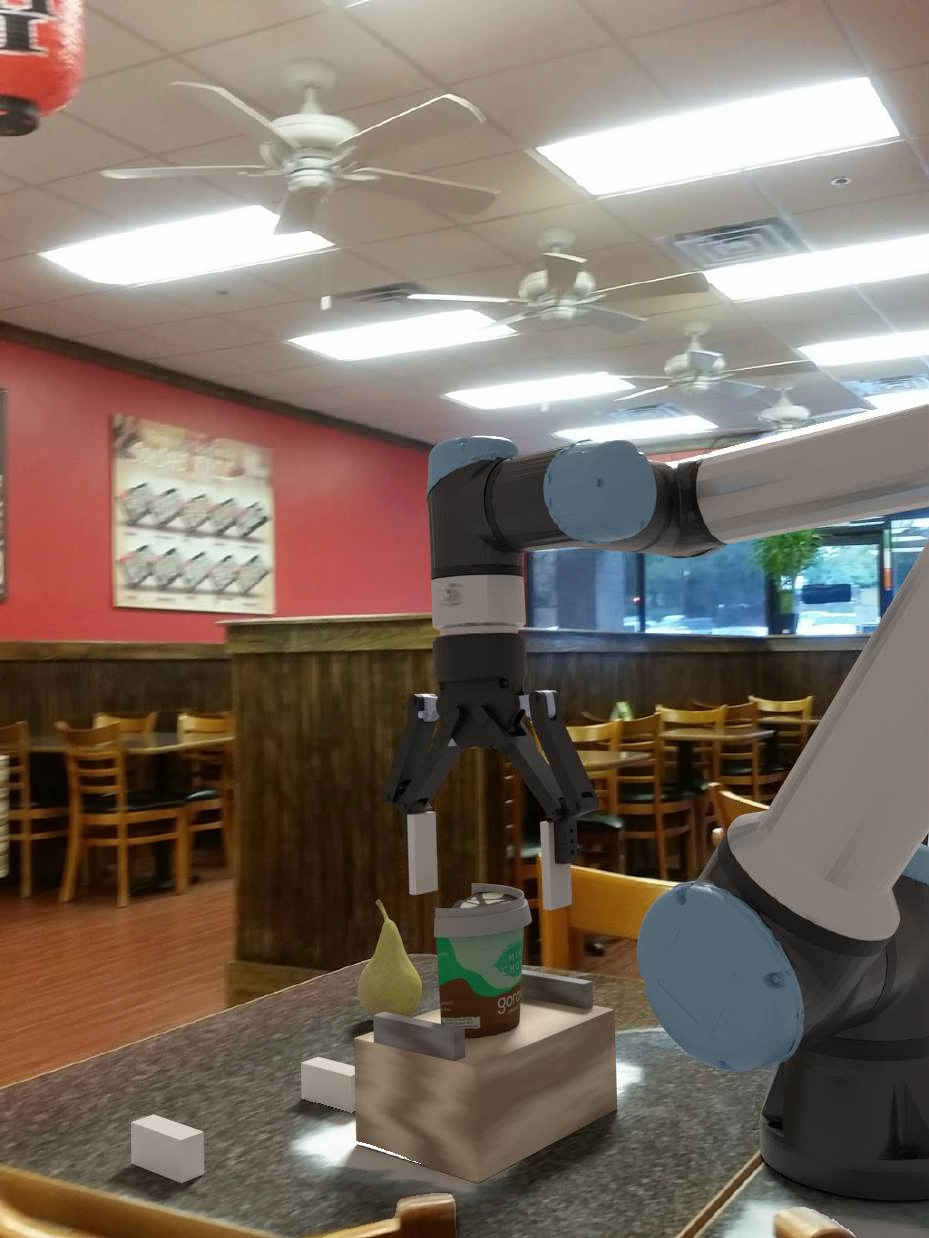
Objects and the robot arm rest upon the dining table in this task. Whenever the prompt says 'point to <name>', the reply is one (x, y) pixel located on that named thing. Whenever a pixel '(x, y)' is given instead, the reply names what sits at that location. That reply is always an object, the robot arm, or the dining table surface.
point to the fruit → (389, 976)
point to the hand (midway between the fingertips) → (487, 899)
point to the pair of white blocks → (183, 1147)
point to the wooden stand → (487, 1081)
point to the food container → (482, 960)
